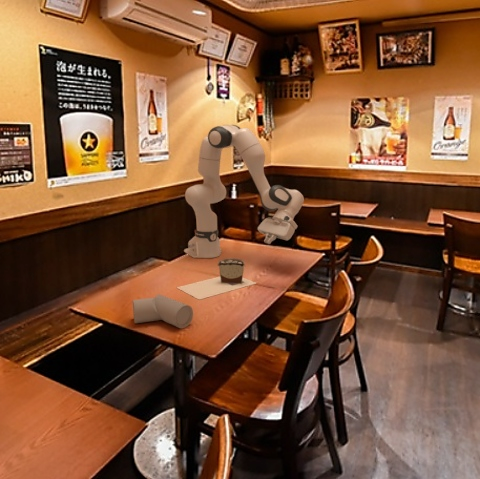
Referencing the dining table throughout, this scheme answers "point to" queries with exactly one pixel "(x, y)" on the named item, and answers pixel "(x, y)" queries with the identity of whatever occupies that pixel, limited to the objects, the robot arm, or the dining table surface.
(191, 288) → the board
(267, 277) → the dining table surface
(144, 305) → the l-shaped cylinder
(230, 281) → the food container
